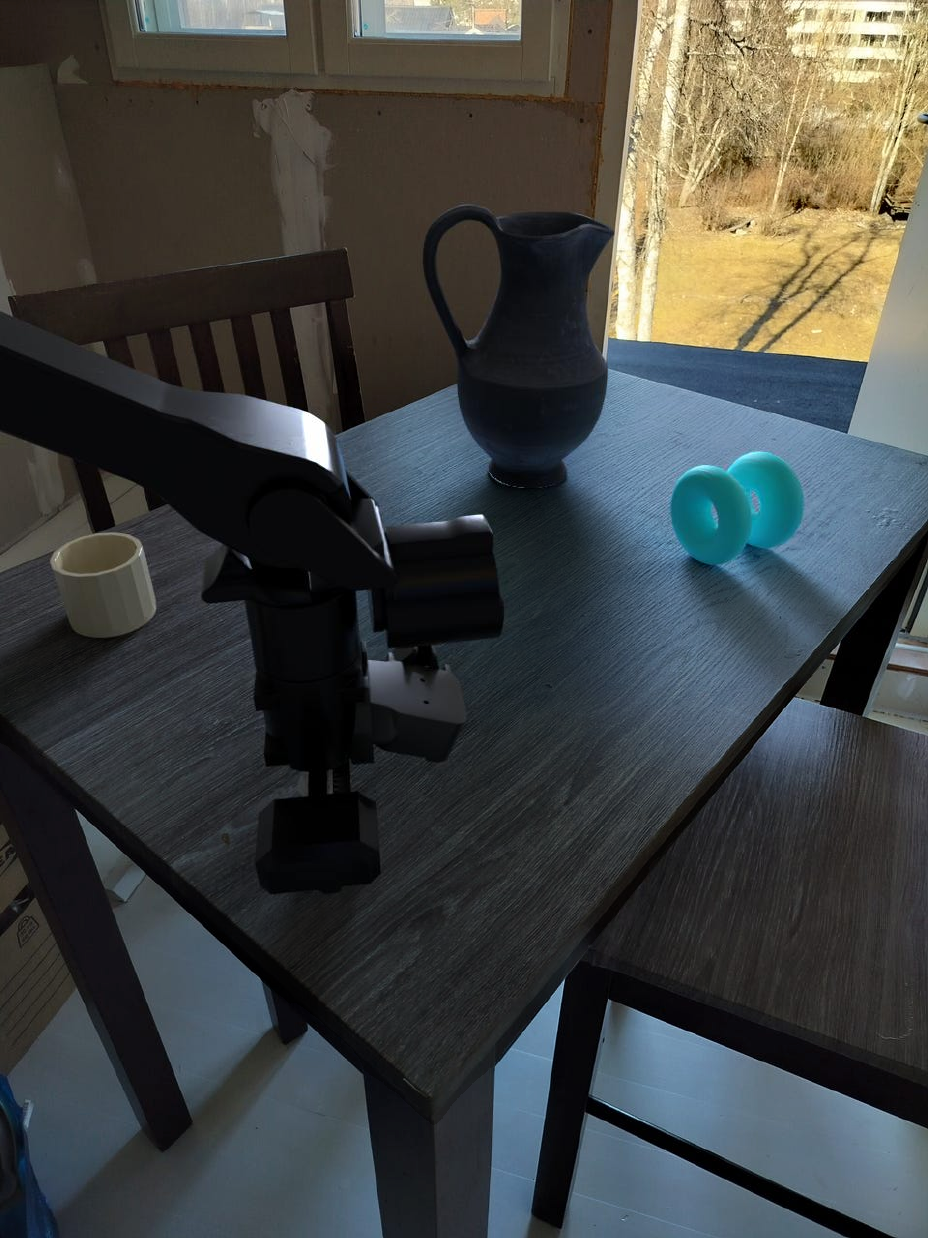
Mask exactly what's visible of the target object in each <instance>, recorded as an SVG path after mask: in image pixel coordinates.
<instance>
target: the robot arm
mask: <svg viewBox="0 0 928 1238" xmlns="http://www.w3.org/2000/svg"><path fill="white" fill-rule="evenodd" d="M0 432H1V433H3V434H6V435H8V436H11V437H13V438H16V439H18V440H21V441H24V442H27V443H29V444H33V445H35V446H38V447H40V448H42V449H46V450H47V451H48V450H49V451H51V452H54V453H56V454H58V455H61V456H64V457H66V458H69V459H72V460H74V461H77V462H80V463H83V464H85V465H88V466H90V467H93V468H96V469H98V470H101V471H104V472H105V473H106V472H107V473H109V474H111V475H113V476H117V477H119V478H122V479H125V480H128V481H131V482H132V483H134V484H136V485H137V486H139V487H142V488H143V489H145V490H147V491H149V492H150V493H152V494H154V495H156V496H157V497H158V498H160V499H162V500H163V501H164V502H165V503H166V504H167V505H168V506H169V507H171V508H172V509H173V510H174V511H175V512H176V513H177V514H179V515H180V516H181V517H182V518H183V519H184V520H186V522H188V523H189V524H190V525H191V526H192V527H193V528H194V529H195V530H197V531H198V532H200V533H201V534H203V535H205V536H207V537H209V538H211V539H212V540H214V541H216V542H218V543H220V544H221V546H220V547H219V548H217V549H215V550H214V551H213V552H212V553H211V554H210V555H208V556H207V557H206V558H205V559H204V562H203V570H202V571H203V573H202V581H201V593H200V598H201V600H202V601H203V602H204V603H206V604H208V605H209V604H210V605H211V604H220V603H230V602H231V603H232V602H241V601H244V606H245V614H246V618H247V624H248V630H249V635H250V636H249V637H250V643H251V648H252V654H253V660H254V667H255V678H254V686H253V687H254V688H253V696H252V697H253V702H254V707H255V712H261V711H262V714H263V719H264V725H265V731H264V733H265V734H264V744H263V758H264V764H265V767H266V768H269V767H270V768H271V767H280V766H281V767H282V766H288V769H289V770H294V771H297V772H302V771H303V772H309V776H308V796H293V797H284V798H274V799H273V800H272V801H271V802H270V803H268V804H267V805H266V806H265V807H264V808H263V809H262V810H261V811H260V812H258V822H257V834H256V847H255V858H254V867H255V870H256V875H257V880H258V884H259V887H260V888H261V889H262V890H263V891H264V892H266V893H267V894H269V895H270V896H271V895H279V894H290V893H298V892H308V891H316V890H317V891H319V892H320V893H321V894H322V895H333V894H339V893H341V892H342V889H343V888H345V887H354V886H355V887H356V886H363V885H371V884H372V883H374V881H376V880H377V878H378V877H380V876H381V874H382V866H381V852H380V851H381V850H380V838H379V837H380V836H379V823H378V811H377V801H376V800H375V799H372V798H371V797H369V796H367V795H365V794H364V793H362V792H360V791H358V790H357V791H352V782H351V781H352V775H351V764H352V765H354V766H357V765H369V764H375V762H376V761H375V748H374V745H375V746H376V747H377V748H378V749H379V750H382V751H385V752H387V753H392V754H398V755H404V756H408V757H409V756H410V757H416V758H422V759H425V760H426V761H427V762H428V763H429V762H430V763H435V764H440V763H444V762H446V761H447V760H448V759H449V757H450V755H451V752H452V751H453V748H454V746H455V745H456V742H457V740H458V738H459V736H460V733H461V731H462V729H463V727H464V725H465V723H466V721H467V711H466V707H465V701H464V697H463V693H462V691H463V690H462V687H461V682H460V680H459V679H458V678H457V676H456V675H454V674H453V671H452V667H451V665H450V664H443V667H442V668H441V667H440V665H439V660H438V655H437V648H436V646H440V645H447V644H455V643H465V642H473V641H482V640H483V641H484V640H491V639H499V638H500V637H501V635H502V633H503V629H504V622H505V602H504V599H503V597H502V595H501V590H500V581H499V580H500V579H499V573H498V565H497V561H496V558H495V553H494V536H495V535H494V532H493V530H492V527H491V526H490V523H489V521H488V519H487V517H486V516H485V515H483V514H473V515H463V516H457V517H455V518H453V519H448V520H444V521H433V522H421V523H410V524H400V525H398V524H397V525H387V526H385V523H384V519H383V516H382V512H381V508H380V503H379V502H377V500H376V499H375V498H374V497H373V496H372V495H371V494H370V493H369V492H368V491H367V490H366V489H365V488H364V487H363V485H362V484H360V483H359V482H358V481H357V479H355V478H354V477H353V475H352V474H351V473H350V472H349V471H348V470H347V469H346V468H345V467H346V466H345V462H344V456H343V453H342V451H341V448H340V445H339V443H338V440H337V438H336V436H335V434H334V432H333V431H332V430H331V428H330V427H329V426H328V425H327V424H326V423H325V422H324V421H322V420H321V419H320V418H318V417H317V416H315V415H313V414H312V413H310V412H307V411H304V410H301V409H299V408H294V407H292V406H287V405H284V404H279V403H275V402H272V401H268V400H264V399H262V398H261V399H260V398H257V397H253V396H249V395H246V394H241V393H230V392H228V393H227V392H216V391H201V390H194V389H189V388H186V387H182V386H178V385H175V384H170V383H167V382H164V381H162V380H161V379H158V378H156V377H153V376H150V375H148V374H146V373H144V372H142V371H140V370H137V369H135V368H132V367H131V366H128V365H126V364H123V363H121V362H118V361H116V360H114V359H112V358H110V357H108V356H105V355H102V354H100V353H97V352H95V351H93V350H91V349H89V348H87V347H84V346H81V345H79V344H77V343H74V342H72V341H70V340H69V339H66V338H64V337H61V336H59V335H57V334H55V333H52V332H49V331H47V330H45V329H42V328H40V327H38V326H35V325H33V324H31V323H29V322H26V321H24V320H22V319H19V318H18V317H14V316H13V315H10V314H9V313H6V312H4V311H2V310H0ZM360 591H361V592H362V591H367V601H368V602H367V603H368V610H369V617H370V625H371V629H372V633H373V634H375V633H383V632H384V631H385V639H386V647H387V649H393V650H392V652H387V654H386V657H385V658H382V659H379V660H373V659H368V651H367V641H366V640H363V641H362V639H361V634H360V624H359V622H360V621H359V612H358V611H359V609H358V598H357V592H360ZM331 769H332V771H333V773H332V775H333V778H332V780H333V794H329V777H328V770H331Z"/></svg>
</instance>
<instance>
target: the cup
mask: <svg viewBox="0 0 928 1238" xmlns="http://www.w3.org/2000/svg"><path fill="white" fill-rule="evenodd" d="M49 563H50V567H51V570H52V573H53V576H54V579H55V582H56V586H57V588H58V591H59V595H60V597H61V601H62V604H63V607H64V611H65V613H66V617H67V620H68V622H69V625H70V627H71V629H72V631H74V632H75V633H77V634H78V635H81V636H83V637H88V638H92V639H93V638H94V639H107V638H114V637H120V636H123V635H126V634H129V633H131V632H134V631H136V630H138V629H141V627H144V625H146V624H148V622H150V621H151V619H152V618H153V617H154V616H155V614H156V611H157V600H156V599H157V598H156V596H155V591H154V587H153V583H152V579H151V575H150V571H149V567H148V564H147V563H148V562H147V559H146V554H145V551H144V547H143V544H142V542H141V540H140V539H138V538H137V537H135V536H133V535H131V534H128V533H122V532H115V531H113V532H97V533H92V534H88V535H83V536H79V537H77V538H75V539H73V540H71V541H67V542H66V543H64V544H63V545H62V546H60V547H59V548H58V549H56V550H55V551H54V552H53V554H52V556H51V557H50V559H49Z"/></svg>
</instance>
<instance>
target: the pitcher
mask: <svg viewBox="0 0 928 1238" xmlns="http://www.w3.org/2000/svg"><path fill="white" fill-rule="evenodd" d="M465 221H472V222H473V221H474V222H480V223H481V224H483V225H485V226H486V227H487V228H488V229H489V230H490V231H491V233H492V236H493V237H494V239H495V240H494V241H495V242H496V246H497V247H496V248H497V252H498V258H499V267H500V275H499V276H500V278H499V283H498V288H497V291H496V295H495V297H494V300H493V302H492V305H491V308H490V311H489V313H488V315H487V317H486V320H485V321H484V323H483V325H482V327H481V329H480V331H479V332H478V334H477V335H476V336H475V337H474V338H473V339H471V340H467V339H466V338H465V336H464V334H463V332H462V330H461V329H460V326H459V324H458V322H457V320H456V318H455V316H454V313H453V311H452V308H451V307H450V305H449V303H448V300H447V298H446V295H445V292H444V290H443V288H442V285H441V283H440V279H439V274H438V269H437V252H438V249H439V244H440V243H441V240H442V238H443V236H444V235H445V234H446V233H447V232H448V231H449V230H450V229H452V228H454V227H455V226H456V225H458V224H460V223H462V222H465ZM613 236H615V229H614V228H613V227H611V226H610V225H608V224H606V223H604V222H602V221H599V220H597V219H594V218H592V217H589V216H586V215H585V214H584V215H583V214H580V213H576V212H570V211H527V212H518V213H517V212H515V213H509V214H503V215H499V216H495V214H494V213H493V212H491V211H490V209H489V208H487V207H484V206H481V205H476V204H462V205H458V206H455V207H452V208H450V209H448V210H446V211H444V212H443V213H441V215H439V216H438V217H437V218H436V219H435V220H434V221H433V222H432V223H431V225H430V226H429V228H428V230H427V232H426V234H425V238H424V242H423V249H422V269H423V275H424V279H425V283H426V287H427V289H428V292H429V296H430V299H431V301H432V303H433V306H434V308H435V310H436V313H437V315H438V317H439V320H440V323H441V324H442V326H443V329H444V331H445V332H446V336H447V337H448V339H449V341H450V344H451V346H452V349H453V351H454V354H455V358H456V363H457V375H456V377H457V379H456V385H457V387H456V388H457V399H458V403H459V409H460V413H461V416H462V419H463V422H464V425H465V427H466V428H467V430H468V432H469V434H470V436H471V437H472V439H473V440H474V442H475V443H476V444H477V445H478V446H479V447H480V448H481V449H482V450H483V451H484V452H485V453H486V455H487V456H488V457H489V458H491V460H490V462H489V463H488V466H489V472H490V473H491V474H492V476H493V477H494V478H496V479H497V480H499V481H501V482H502V483H505V484H508V485H510V486H516V487H524V488H540V487H541V489H543V488H542V487H546V486H550V485H553V484H556V483H558V482H559V483H561V482H562V481H563V480H564V479H565V478H566V477H567V475H568V468H567V466H566V464H565V461H564V459H565V458H566V457H568V456H569V455H570V454H572V453H573V452H575V450H577V449H578V448H579V447H580V446H581V445H582V444H584V442H585V441H587V439H588V438H589V437H590V435H591V434H592V432H593V430H594V429H595V427H596V425H597V423H598V422H599V419H600V416H602V412H603V409H604V404H605V399H606V396H607V389H608V379H609V366H608V363H607V360H605V357H604V356H603V354H602V352H601V351H600V349H599V348H598V347H597V344H596V342H595V340H594V337H593V334H592V331H591V326H590V322H589V318H588V317H589V316H588V311H587V297H586V295H587V294H586V289H587V288H586V287H587V283H588V280H589V278H590V274H591V272H592V270H593V268H595V267H594V266H595V265H596V263H597V261H598V260H599V258H600V256H601V254H602V253H603V251H604V249H605V248H606V247H607V245H608V244H609V242H610V240H611V239H612V238H613ZM566 474H567V475H566ZM561 480H562V481H561ZM560 481H561V482H560ZM559 483H558V484H559ZM556 485H557V484H556ZM553 486H554V485H553ZM550 487H551V486H550ZM546 488H547V487H546Z"/></svg>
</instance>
